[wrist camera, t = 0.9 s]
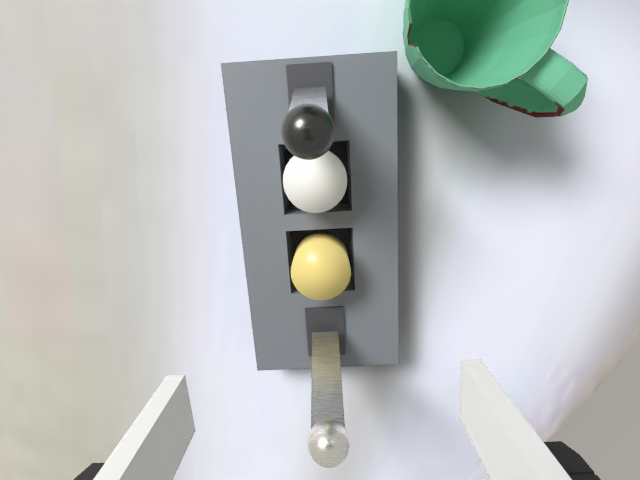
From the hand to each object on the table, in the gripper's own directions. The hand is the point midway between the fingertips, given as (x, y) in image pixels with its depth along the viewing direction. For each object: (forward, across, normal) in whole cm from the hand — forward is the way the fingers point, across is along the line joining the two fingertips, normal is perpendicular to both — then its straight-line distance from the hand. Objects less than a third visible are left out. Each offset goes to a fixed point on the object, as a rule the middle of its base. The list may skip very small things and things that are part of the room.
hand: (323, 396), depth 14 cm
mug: (+22, +13, +16) cm, 30 cm away
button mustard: (+18, 0, 0) cm, 18 cm away
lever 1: (+17, 0, +14) cm, 22 cm away
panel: (+22, 0, +3) cm, 22 cm away
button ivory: (+18, 0, +8) cm, 20 cm away
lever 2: (+17, 0, -7) cm, 18 cm away
